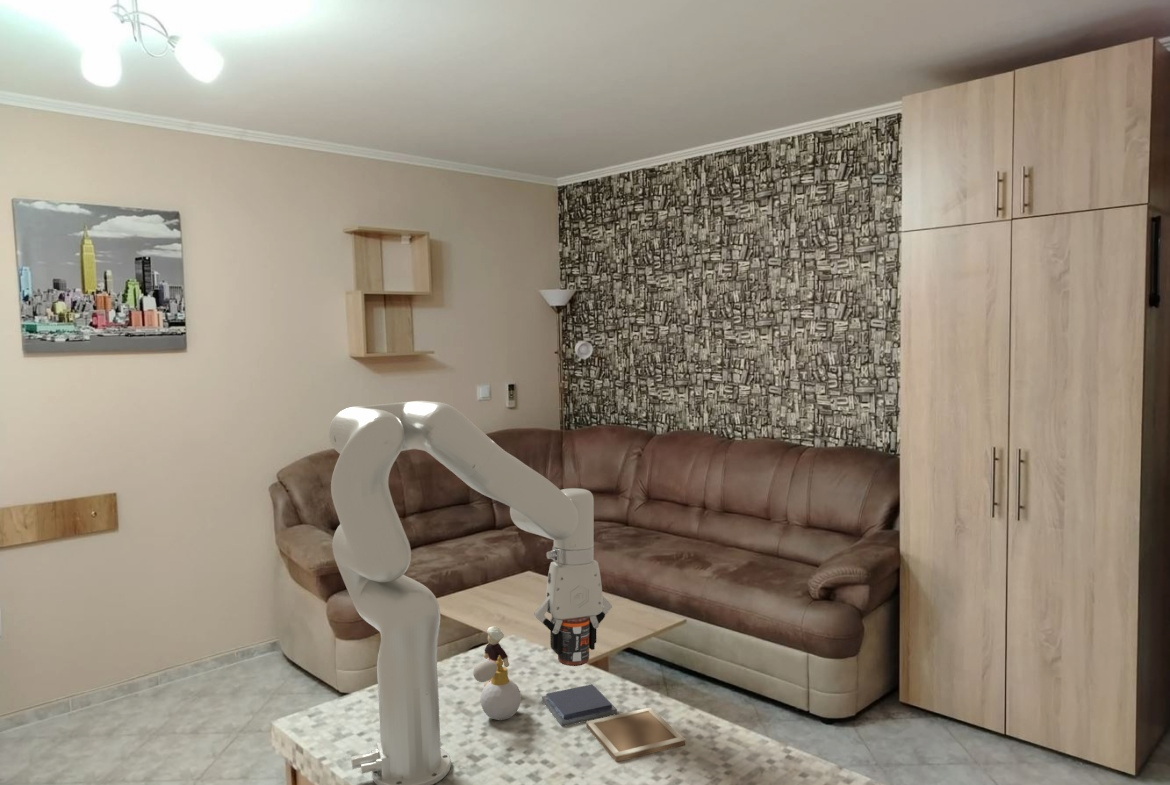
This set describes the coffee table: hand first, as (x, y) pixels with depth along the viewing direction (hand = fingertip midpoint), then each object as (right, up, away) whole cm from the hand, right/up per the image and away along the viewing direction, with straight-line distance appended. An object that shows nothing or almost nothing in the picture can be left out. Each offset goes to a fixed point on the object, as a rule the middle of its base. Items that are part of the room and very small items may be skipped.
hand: (573, 648), depth 148 cm
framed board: (+11, -12, -10) cm, 19 cm away
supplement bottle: (0, -3, 0) cm, 3 cm away
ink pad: (+1, -12, +1) cm, 12 cm away
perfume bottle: (-14, -12, -3) cm, 19 cm away
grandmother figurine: (-16, -12, +11) cm, 22 cm away
